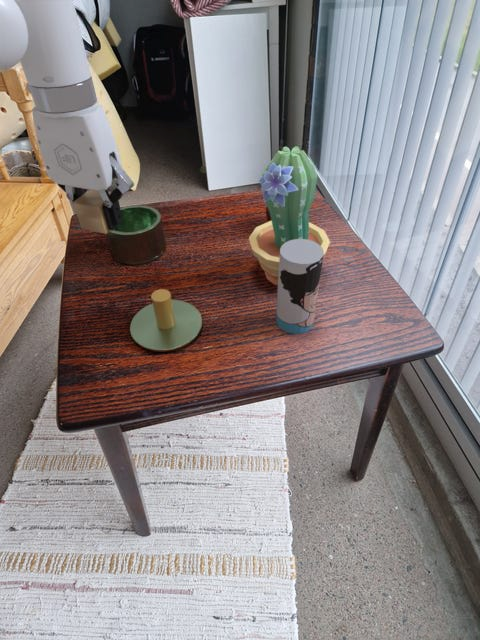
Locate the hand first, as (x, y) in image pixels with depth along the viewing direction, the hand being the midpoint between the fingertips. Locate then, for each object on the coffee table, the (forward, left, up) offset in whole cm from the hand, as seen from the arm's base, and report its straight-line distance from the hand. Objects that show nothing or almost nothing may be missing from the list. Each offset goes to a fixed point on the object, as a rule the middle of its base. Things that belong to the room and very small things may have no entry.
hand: (101, 221), depth 65 cm
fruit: (+20, +37, -19) cm, 46 cm away
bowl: (-8, +18, -19) cm, 27 cm away
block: (0, 0, 0) cm, 0 cm away
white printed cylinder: (+30, +7, -19) cm, 37 cm away
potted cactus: (+25, +20, -19) cm, 38 cm away
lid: (+9, -2, -18) cm, 20 cm away
